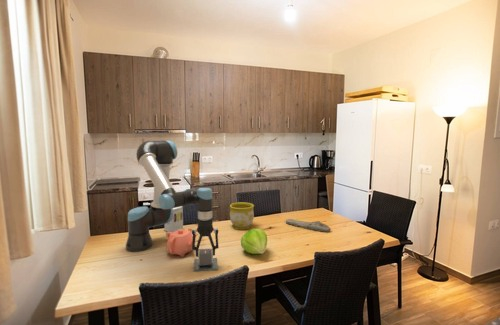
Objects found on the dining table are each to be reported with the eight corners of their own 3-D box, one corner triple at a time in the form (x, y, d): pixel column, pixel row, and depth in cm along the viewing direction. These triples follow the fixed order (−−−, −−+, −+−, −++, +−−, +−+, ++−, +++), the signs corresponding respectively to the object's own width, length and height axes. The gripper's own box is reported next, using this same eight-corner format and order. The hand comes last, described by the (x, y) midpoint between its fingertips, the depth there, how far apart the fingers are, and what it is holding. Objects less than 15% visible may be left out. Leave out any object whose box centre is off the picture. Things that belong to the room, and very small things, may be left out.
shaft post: (194, 260, 145) (194, 252, 145) (216, 259, 147) (216, 250, 146) (193, 271, 133) (193, 262, 133) (217, 269, 135) (217, 260, 135)
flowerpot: (231, 222, 209) (231, 202, 208) (254, 223, 209) (254, 202, 207) (228, 230, 191) (228, 208, 190) (253, 231, 191) (253, 208, 189)
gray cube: (199, 260, 142) (199, 248, 142) (211, 259, 143) (211, 248, 143) (199, 265, 136) (199, 253, 136) (211, 264, 137) (211, 252, 137)
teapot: (191, 244, 166) (191, 223, 165) (199, 255, 151) (199, 232, 150) (164, 249, 159) (164, 227, 158) (170, 261, 144) (169, 237, 143)
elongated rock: (289, 222, 214) (283, 226, 207) (289, 216, 214) (282, 220, 206) (332, 229, 194) (327, 234, 186) (332, 222, 193) (327, 226, 185)
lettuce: (247, 262, 143) (247, 237, 142) (237, 247, 162) (237, 225, 161) (274, 258, 148) (274, 234, 147) (261, 244, 167) (261, 223, 166)
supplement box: (173, 233, 186) (172, 209, 185) (164, 230, 191) (163, 207, 189) (183, 229, 194) (183, 206, 193) (174, 227, 199) (173, 204, 197)
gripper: (185, 221, 133) (186, 266, 135) (224, 219, 135) (224, 263, 138) (186, 216, 140) (187, 259, 142) (223, 215, 143) (223, 257, 145)
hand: (205, 261), depth 140 cm, fingers closed on gray cube, 6 cm apart
